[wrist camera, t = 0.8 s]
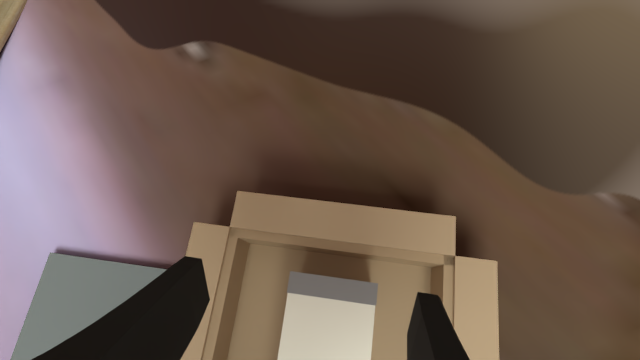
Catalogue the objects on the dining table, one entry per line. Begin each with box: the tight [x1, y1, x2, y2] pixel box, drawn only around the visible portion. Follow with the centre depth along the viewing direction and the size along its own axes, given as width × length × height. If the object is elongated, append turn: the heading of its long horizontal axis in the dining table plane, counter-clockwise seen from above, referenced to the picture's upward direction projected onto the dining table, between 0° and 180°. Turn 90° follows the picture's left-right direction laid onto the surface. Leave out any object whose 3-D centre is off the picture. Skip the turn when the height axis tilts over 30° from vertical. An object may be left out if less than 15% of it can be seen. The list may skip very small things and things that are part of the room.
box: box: [277, 271, 378, 360], centre depth 21 cm, size 9×5×5 cm, turn 172°
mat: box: [11, 253, 167, 360], centre depth 24 cm, size 11×11×1 cm
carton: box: [180, 191, 499, 360], centre depth 22 cm, size 19×20×4 cm
